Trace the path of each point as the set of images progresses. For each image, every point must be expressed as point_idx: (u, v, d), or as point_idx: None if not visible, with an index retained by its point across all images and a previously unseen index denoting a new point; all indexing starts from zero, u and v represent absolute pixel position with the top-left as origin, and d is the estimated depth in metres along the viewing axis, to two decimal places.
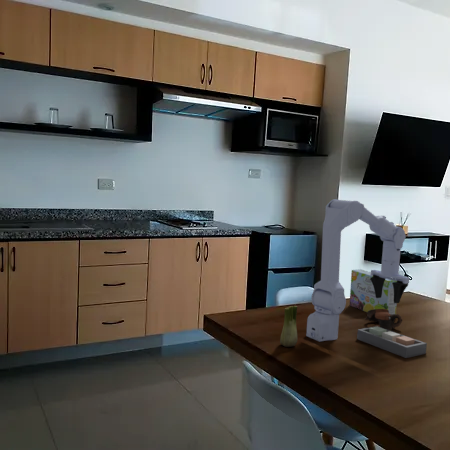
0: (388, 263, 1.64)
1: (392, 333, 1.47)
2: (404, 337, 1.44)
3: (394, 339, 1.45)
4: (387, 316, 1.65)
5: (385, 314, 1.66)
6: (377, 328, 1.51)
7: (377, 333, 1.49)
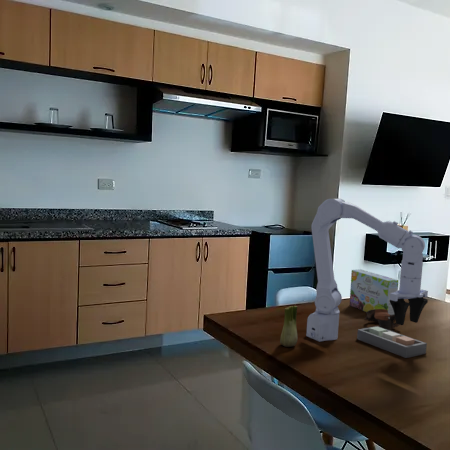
0: None
1: (392, 333, 1.47)
2: (404, 337, 1.44)
3: (394, 339, 1.45)
4: (386, 316, 1.65)
5: (384, 314, 1.65)
6: (377, 328, 1.51)
7: (377, 333, 1.49)
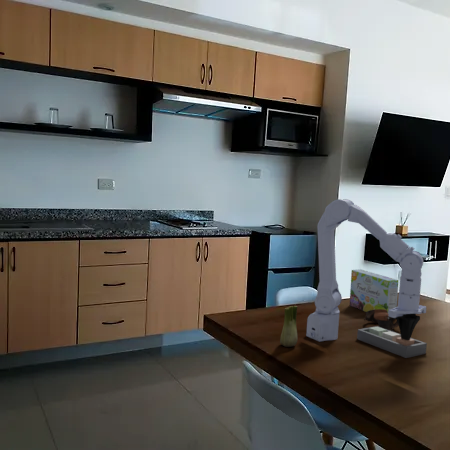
0: None
1: (392, 333, 1.47)
2: None
3: (394, 339, 1.45)
4: (386, 316, 1.65)
5: (384, 314, 1.65)
6: (377, 328, 1.51)
7: (377, 333, 1.49)
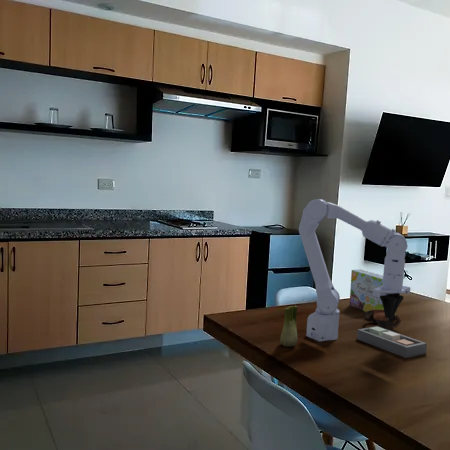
0: None
1: (392, 333, 1.47)
2: (404, 340, 1.44)
3: (394, 339, 1.45)
4: None
5: (383, 315, 1.65)
6: (377, 328, 1.51)
7: (377, 333, 1.49)
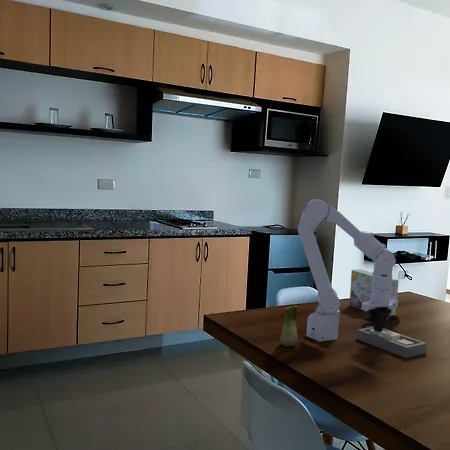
0: None
1: (392, 333, 1.47)
2: (404, 340, 1.44)
3: (394, 339, 1.45)
4: None
5: None
6: None
7: (377, 335, 1.49)
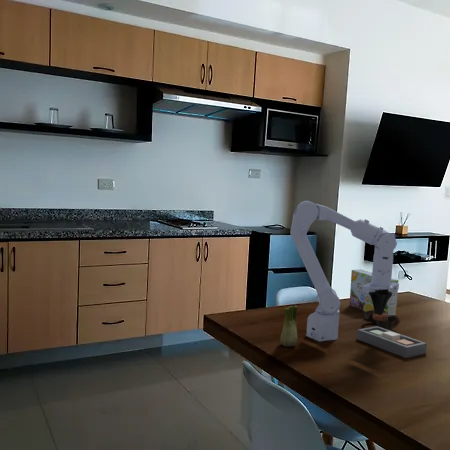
0: None
1: (392, 333, 1.47)
2: (404, 340, 1.44)
3: (394, 339, 1.45)
4: (385, 317, 1.64)
5: (383, 315, 1.64)
6: (376, 332, 1.51)
7: None
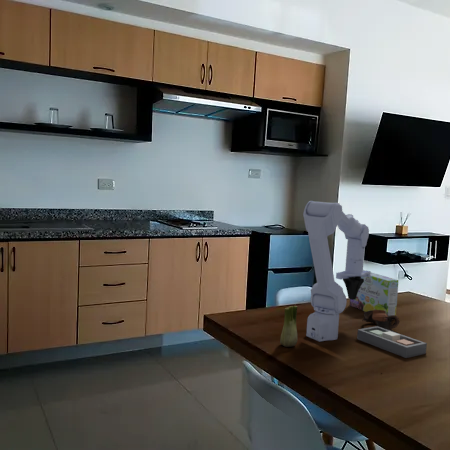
0: None
1: (392, 333, 1.47)
2: (404, 340, 1.44)
3: (394, 339, 1.45)
4: (384, 317, 1.64)
5: (382, 315, 1.64)
6: (376, 332, 1.51)
7: None
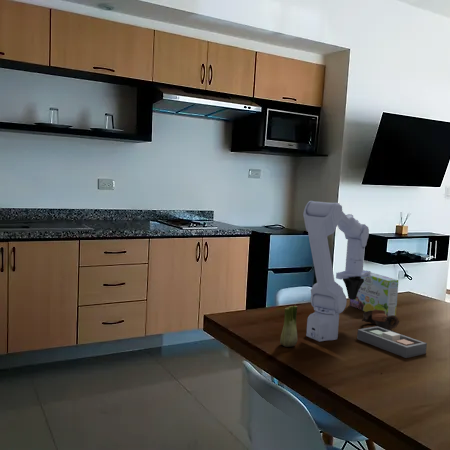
0: None
1: (392, 333, 1.47)
2: (404, 340, 1.44)
3: (394, 339, 1.45)
4: (384, 317, 1.63)
5: (382, 315, 1.64)
6: (376, 332, 1.51)
7: None
